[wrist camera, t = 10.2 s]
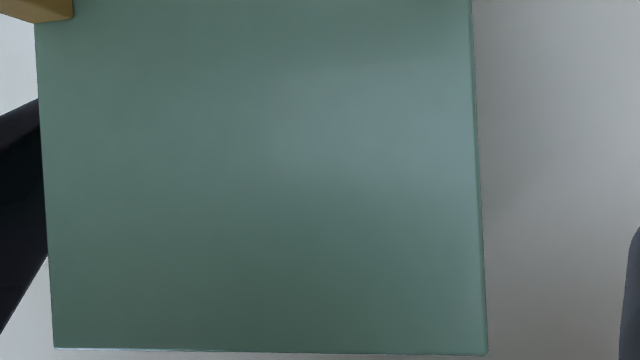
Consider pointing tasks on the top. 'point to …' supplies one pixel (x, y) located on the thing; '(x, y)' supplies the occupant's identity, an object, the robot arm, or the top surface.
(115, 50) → the tote bag
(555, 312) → the top surface
